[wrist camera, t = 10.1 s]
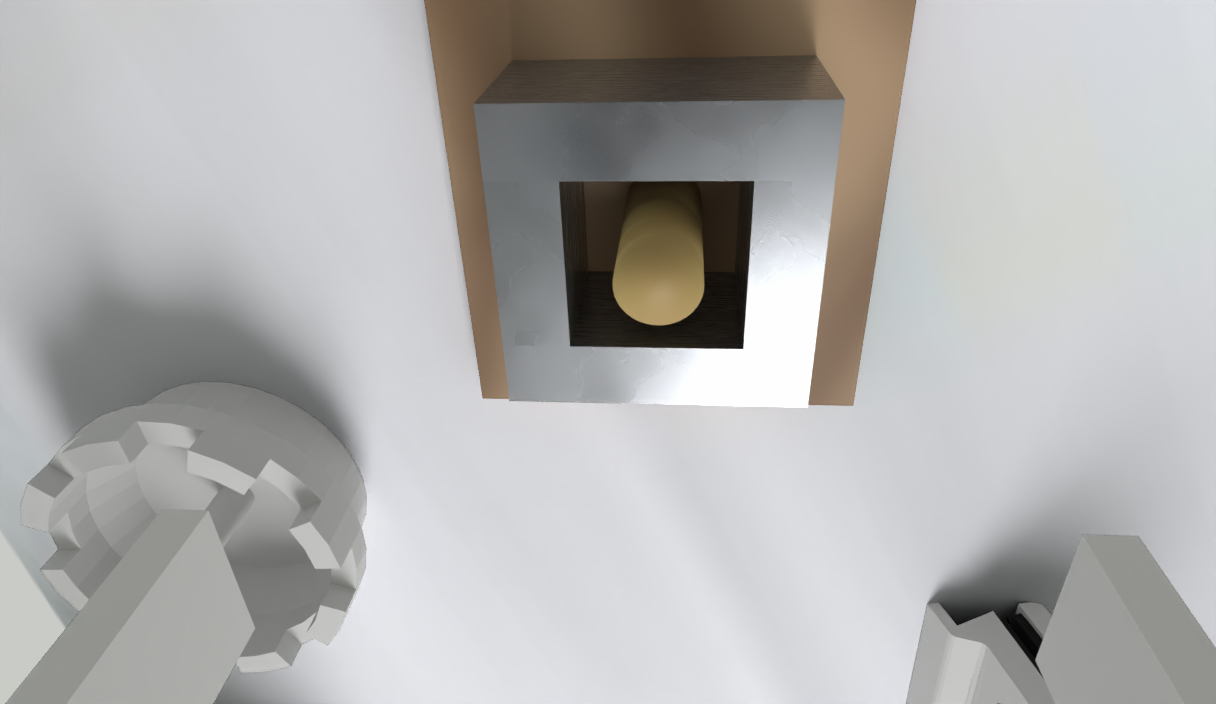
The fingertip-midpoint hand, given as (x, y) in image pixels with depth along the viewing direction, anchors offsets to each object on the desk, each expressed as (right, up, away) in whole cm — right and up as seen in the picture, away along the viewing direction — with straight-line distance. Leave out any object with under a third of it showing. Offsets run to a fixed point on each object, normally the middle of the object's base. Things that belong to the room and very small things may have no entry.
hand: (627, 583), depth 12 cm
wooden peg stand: (+2, +9, +15) cm, 17 cm away
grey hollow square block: (+1, +8, +13) cm, 16 cm away
